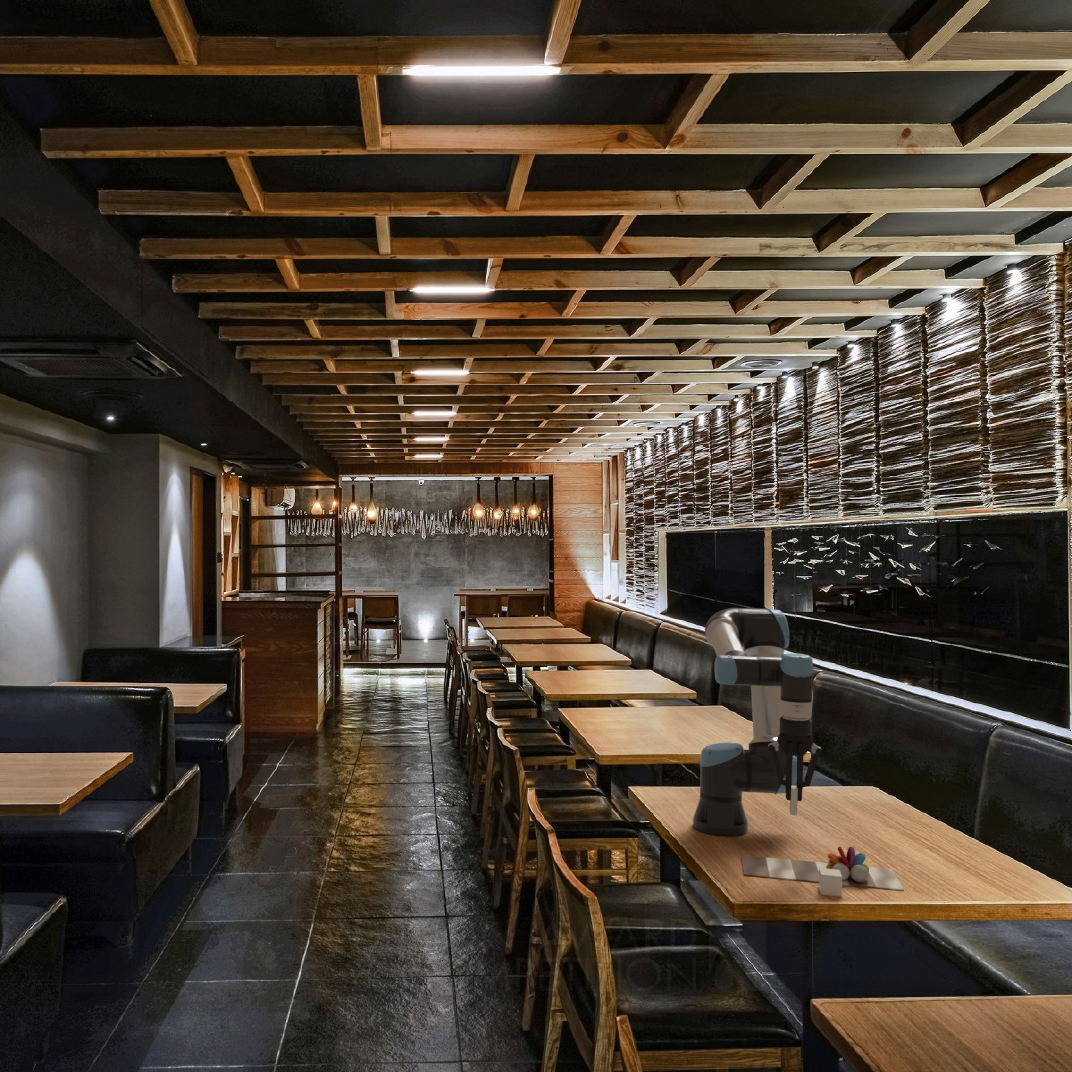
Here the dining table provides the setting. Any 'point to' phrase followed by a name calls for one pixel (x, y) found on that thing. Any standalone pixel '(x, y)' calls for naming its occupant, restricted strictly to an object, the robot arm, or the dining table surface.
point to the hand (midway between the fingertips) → (793, 813)
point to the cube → (830, 882)
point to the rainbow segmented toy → (849, 864)
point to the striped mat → (813, 872)
